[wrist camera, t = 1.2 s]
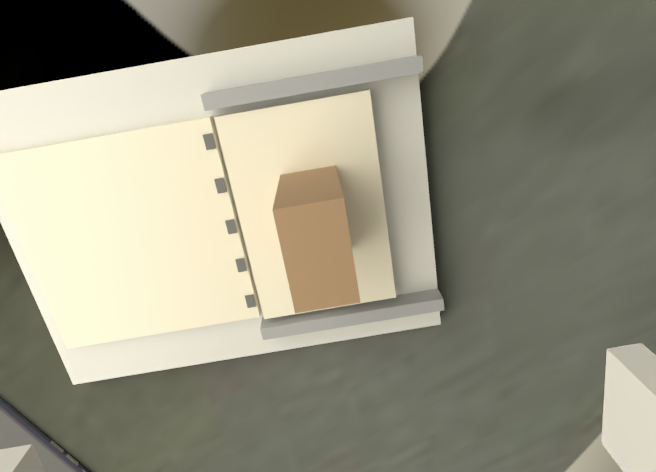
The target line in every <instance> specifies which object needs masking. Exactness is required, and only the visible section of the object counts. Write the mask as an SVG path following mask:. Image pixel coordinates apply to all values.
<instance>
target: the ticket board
mask: <svg viewBox="0 0 656 472" xmlns="http://www.w3.org/2000/svg"><path fill="white" fill-rule="evenodd" d="M418 73H424V67H423V56H422V55H417V53H416V42H415V31H414V19H413V17H411V18H404V19H399V20H393V21H387V22H382V23H376V24H371V25H365V26H359V27H354V28H349V29H343V30H338V31H331V32H326V33H321V34H315V35H309V36H304V37H298V38H292V39H287V40H281V41H275V42H270V43H264V44H259V45H254V46H247V47H242V48H236V49H231V50H226V51H219V52H214V53H208V54H203V55H197V56H191V57H186V58H180V59H175V60H169V61H163V62H158V63H152V64H147V65H141V66H135V67H130V68H124V69H119V70H113V71H107V72H102V73H96V74H91V75H85V76H79V77H74V78H68V79H63V80H57V81H51V82H46V83H40V84H35V85H29V86H23V87H18V88H12V89H7V90H1V91H0V222H1V224H2V227H3V229H4V231H5V233H6V236H7V238H8V240H9V242H10V245H11V247H12V249H13V251H14V253H15V256H16V258H17V260H18V262H19V265H20V267H21V269H22V271H23V274H24V276H25V278H26V280H27V283H28V285H29V287H30V289H31V291H32V294H33V296H34V298H35V300H36V303H37V305H38V307H39V309H40V312H41V314H42V316H43V318H44V320H45V323H46V325H47V327H48V329H49V332H50V334H51V336H52V338H53V341H54V343H55V345H56V347H57V349H58V352H59V354H60V356H61V358H62V361H63V363H64V365H65V367H66V370H67V372H68V374H69V376H70V378H71V381H72V383H73V385H74V384H80V383H86V382H92V381H98V380H104V379H111V378H117V377H123V376H129V375H135V374H141V373H147V372H153V371H159V370H165V369H171V368H178V367H184V366H190V365H196V364H202V363H208V362H214V361H220V360H226V359H232V358H239V357H245V356H251V355H257V354H263V353H269V352H275V351H281V350H287V349H293V348H300V347H306V346H312V345H318V344H324V343H330V342H336V341H342V340H348V339H354V338H360V337H367V336H373V335H379V334H385V333H391V332H397V331H403V330H409V329H415V328H421V327H428V326H434V325H440V324H441V320H440V311H444V301H443V297H442V295H441V294H440V292H439V290H438V287H437V276H436V264H435V253H434V242H433V231H432V220H431V209H430V197H429V186H428V175H427V164H426V153H425V142H424V130H423V119H422V108H421V97H420V86H419V75H418ZM366 89H369V90H370V94H371V102H372V110H373V118H374V126H375V134H376V142H377V150H378V157H379V165H380V173H381V181H382V189H383V197H384V205H385V213H386V220H387V228H388V236H389V244H390V252H391V260H392V268H393V276H394V283H395V291H396V298H390V299H384V300H378V301H372V302H366V303H360V304H354V305H348V306H342V307H336V308H330V309H324V310H318V311H312V312H305V313H299V314H293V315H287V316H281V317H275V318H269V319H264V317H263V313H262V309H261V305H260V300H259V296H258V292H257V288H256V284H255V280H254V276H253V272H252V268H251V264H250V260H249V256H248V252H247V248H246V244H245V240H244V236H243V232H242V228H241V224H240V220H239V216H238V212H237V208H236V204H235V200H234V196H233V192H232V188H231V184H230V180H229V176H228V172H227V168H226V164H225V160H224V156H223V152H222V148H221V144H220V140H219V136H218V132H217V128H216V124H215V120H214V117H215V116H217V115H223V114H229V113H235V112H240V111H246V110H252V109H257V108H263V107H269V106H274V105H280V104H286V103H292V102H297V101H303V100H309V99H314V98H320V97H326V96H331V95H337V94H343V93H348V92H354V91H360V90H366Z"/></svg>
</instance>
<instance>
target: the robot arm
mask: <svg viewBox="0 0 656 472" xmlns="http://www.w3.org/2000/svg"><path fill="white" fill-rule="evenodd" d="M601 443H602V444H603V446H604V447H605V448H606V450H607V451H608V452H609V453H610V455H611V456H612V457H613V459H614V460H615V461H616V463H617V464H618V465H619V467H620V468H621V469H622V470H623V472H656V355H655V354H654V353H652V352H651V351H650V350H649V349H648V348H647V347H645V346H644V345H643V344H642V343H638V344H632V345H626V346H620V347H614V348H608V349H607V357H606V374H605V391H604V408H603V425H602V442H601ZM0 472H46V470H45V469H44V467H43V465H42V463H41V461H40V459H39V457H38V455H37V453H36V451H35V449H34V447H33V445H32V444H30V445H24V446H18V447H12V448H6V449H0Z"/></svg>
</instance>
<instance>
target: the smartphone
mask: <svg viewBox="0 0 656 472" xmlns="http://www.w3.org/2000/svg"><path fill="white" fill-rule="evenodd" d="M30 444H32V445H33V447H34V449H35V451H36V453H37V455H38V457H39V459H40V461H41V463H42V465H43V467H44V469H45V470H46V472H89V471H88V470H87V469H86V468H84V467H83V466H82V465H81V464H80V463H79V462H77V461H76V460H75V459H74V458H73V457H71V456H70V455H69V454H68V453H66V452H65V451H64V450H63V449H62V448H61V447H60V446H58V445H57V444H56V443H55V442H54V441H52V440H51V439H50V438H48V437H47V436H46V435H45V434H44V433H42V432H41V431H40V430H39V429H38V428H36V427H35V426H34V425H33V424H32V423H30V422H29V421H28V420H27V419H26V418H24V417H23V416H22V415H21V414H20V413H19V412H17V411H16V410H15V409H14V408H13V407H11V406H10V405H9V404H8V403H7V402H5V401H4V400H3V399H2V398H1V397H0V449H6V448H12V447H18V446H24V445H30Z"/></svg>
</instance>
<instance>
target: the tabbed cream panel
mask: <svg viewBox="0 0 656 472" xmlns="http://www.w3.org/2000/svg"><path fill="white" fill-rule="evenodd" d="M214 120H215V124H216V128H217V132H218V136H219V140H220V144H221V148H222V152H223V156H224V160H225V164H226V168H227V172H228V176H229V180H230V184H231V188H232V192H233V196H234V200H235V204H236V208H237V212H238V216H239V220H240V224H241V228H242V232H243V236H244V240H245V244H246V248H247V252H248V256H249V260H250V264H251V268H252V272H253V276H254V280H255V284H256V288H257V292H258V296H259V300H260V305H261V309H262V313H263V317H264V319H269V318H275V317H281V316H287V315H293V314H299V313H305V312H312V311H318V310H324V309H330V308H336V307H342V306H348V305H354V304H360V303H366V302H372V301H378V300H384V299H390V298H396V291H395V283H394V276H393V268H392V260H391V252H390V244H389V236H388V228H387V220H386V213H385V205H384V197H383V189H382V181H381V173H380V165H379V157H378V150H377V142H376V134H375V126H374V118H373V110H372V102H371V94H370V90H369V89H366V90H360V91H354V92H348V93H343V94H337V95H331V96H326V97H320V98H314V99H309V100H303V101H297V102H292V103H286V104H280V105H274V106H269V107H263V108H257V109H252V110H246V111H240V112H235V113H229V114H223V115H217V116H215V117H214Z"/></svg>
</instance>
